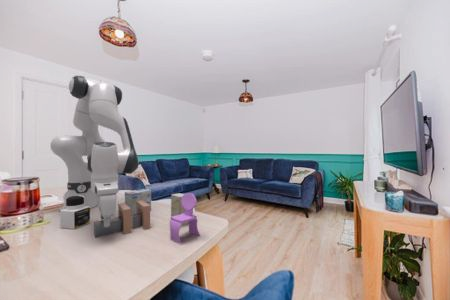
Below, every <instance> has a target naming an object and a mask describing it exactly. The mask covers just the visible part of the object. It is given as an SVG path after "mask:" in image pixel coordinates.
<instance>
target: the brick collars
mask: <svg viewBox="0 0 450 300" xmlns="http://www.w3.org/2000/svg"><path fill="white" fill-rule="evenodd" d="M117 212H118V214H117V215H118V216H117V217H122V216H123V231H122V234H123V235H126V234H131V233H132V229H131V208H129V207H128V206H127V205H126V204H125V202H122V203H118V205H117ZM138 213H142V227H141V228H142V229H143V230H147V229H150V228H151V211H150V205H149V204H147V203H146V202H144V201H143V200H140V201H136V214H138Z"/></svg>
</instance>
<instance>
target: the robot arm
mask: <svg viewBox="0 0 450 300" xmlns="http://www.w3.org/2000/svg"><path fill="white" fill-rule="evenodd" d="M68 90H69V94H70V95H71V96H72V97H73V98H76V99H77V103H76V105H75V110H74V115H73V119H72V124H73V125H74V127H75V128H76V129H78V130H79V131H81V135H70V134H67V135H66V134H65V135H58V136H55V137H54V138H52V140H51V141H50V150H51V152H52V153H53V154H54V155H56V156H57V157H58V158H60V159H61V160H62V161H63V162H64V163H65V165H66V168H67V176H68V177H67V179H68V182H67V185H66V186H67V187H66V188H67V190H66V192H64V194H63V201H62V203H63V205H62V206H60V207H59V208H58V211H59V212H60V211H61V210H63V209H67V208H66V199H67V198H68V197H71V196H78V195H81V196H84V204H85V205H84V206H90V209H92V208H95V207H98V209H99V212H100V213H99V214H100V219H101V220H104V227H109V226H110V219H112V217H114V216H115V213H116V208H117V194H118V193H119V174H122V175H123V174H125V175H129V174H133V173H135V172H136V170H138V169H139V165H140V164H139V163H140V162H139V161H140V160H139V157H138V154H137V152H136V148H135V145H134V142H133V137H132V133H131V129H130V127H129V124H128V121H127V119H126V118H125V117H124V116H122V115H121V113H120V111H119V109H118V108H119V105H120V104H121V102H122V100H123V92H122V90H121V88H119V87H118V86H116V85H113V84H110V83H108V82H105V81H102V80H99V79H98V80H97V79H94V78H91V77H90V78H88V77H85V76H83V75H74V76H73V77H71V79H70V81H69V83H68ZM99 126H101V127H102V128H106V129H108V130H109V129H110V130H111V131H113V132H116V133H117V134H118V135H119V136H120V140H121V143H122V147H123V150H118V146H117V144H116V143H114V142H111V141H110V142H109V141H105V139H104V138H103V137H102V136H101V135H100V132H99ZM86 156H87V158H86V159H87V162H86V161H84V159H83V157H86Z"/></svg>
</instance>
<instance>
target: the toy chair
mask: <svg viewBox="0 0 450 300" xmlns="http://www.w3.org/2000/svg"><path fill="white" fill-rule="evenodd" d="M184 194H185V195H183V196H182V198H181V202H182V206H183V207H184V208H185V209H186V213H182V214H180V215H176V216H172V217H171V216H170V220H169V233H170V234H169V235H170V237H169V238H170V240H172V241H174V242H177V243H178V244H181V245H182V244H183V243H182V241H181V238H180V235H179V234H180V230H181V227H182V226H181V225H182V224H183V223H186V222H187V225H188V232H189V233H191V234H194V235H196V236H199V237H200V236H201V234H200V232H199V229H198V219H197V216H198V215H194V208H195V207H196V206H197V205H198V202H197V198H196V196H195V194H194V193H190V192H187V193H184Z"/></svg>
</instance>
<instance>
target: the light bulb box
mask: <svg viewBox="0 0 450 300" xmlns="http://www.w3.org/2000/svg"><path fill="white" fill-rule="evenodd" d="M140 200H143V201H144V202H146V203H147V204H149V205H150V212H151V211H152V189H148V188H141V189H134V190H131V191H130V190H129V191H125V192H124V203H125V204H126V205H127V206H128V207H129V208H131V215H133V214H136V201H140Z"/></svg>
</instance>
